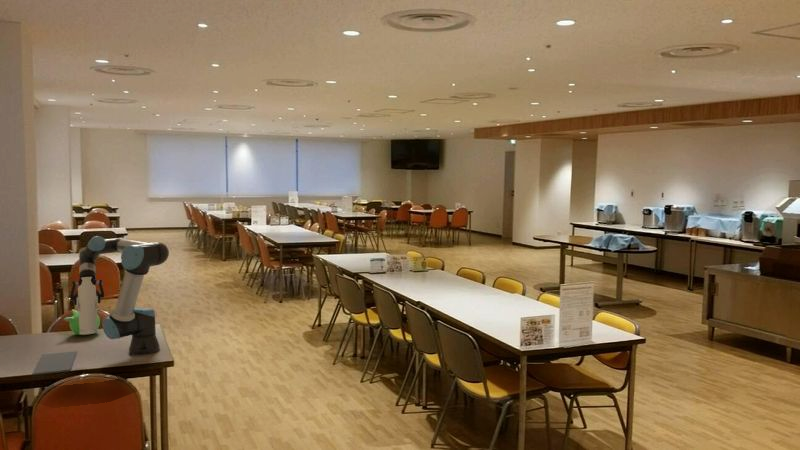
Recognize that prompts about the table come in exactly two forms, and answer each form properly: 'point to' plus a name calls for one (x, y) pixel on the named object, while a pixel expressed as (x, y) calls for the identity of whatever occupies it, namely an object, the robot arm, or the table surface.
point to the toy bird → (77, 322)
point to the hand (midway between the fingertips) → (87, 308)
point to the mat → (55, 363)
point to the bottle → (87, 307)
